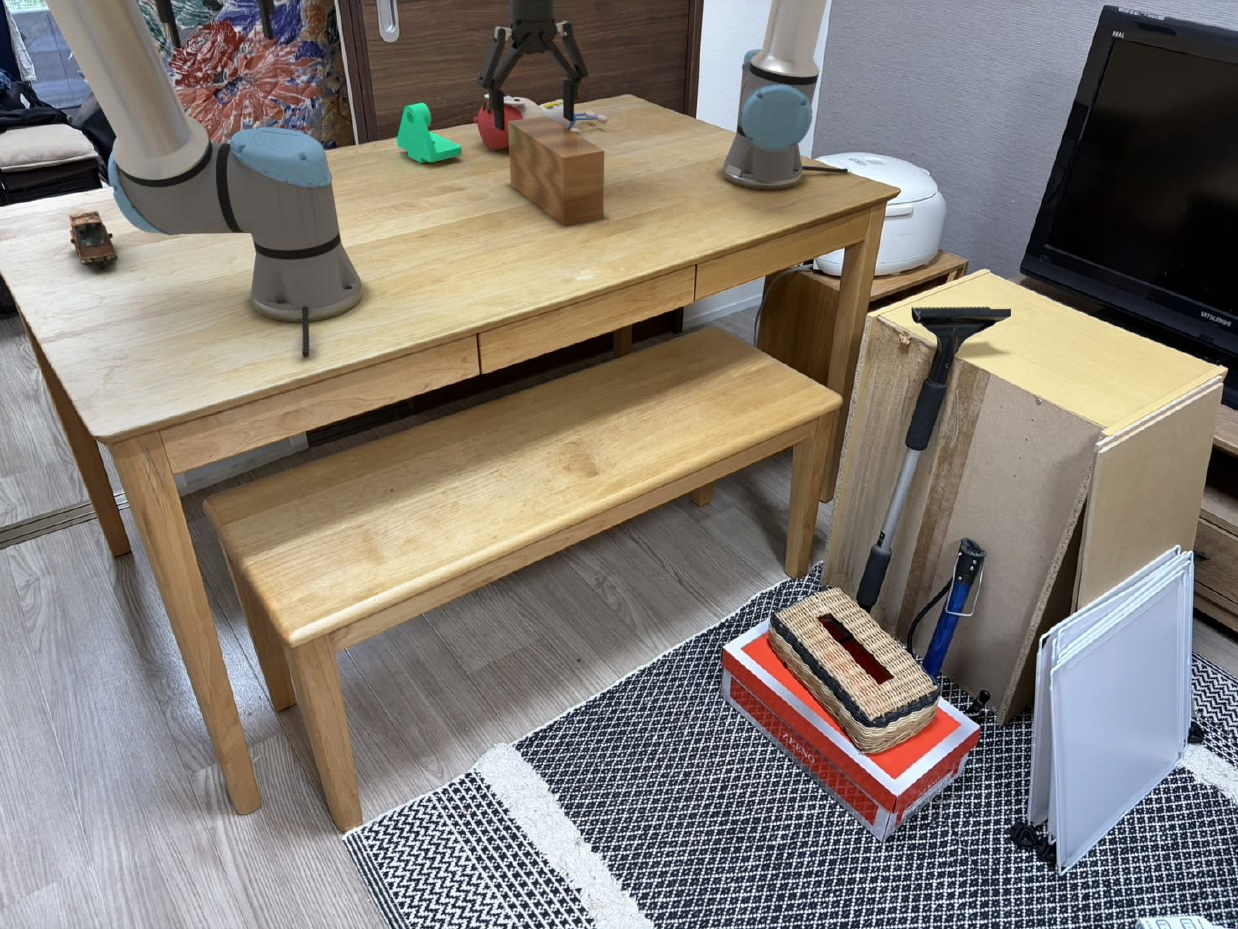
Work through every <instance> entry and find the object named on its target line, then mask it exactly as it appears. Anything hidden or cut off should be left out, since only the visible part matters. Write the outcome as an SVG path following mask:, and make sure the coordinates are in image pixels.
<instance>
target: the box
mask: <svg viewBox="0 0 1238 929" xmlns="http://www.w3.org/2000/svg"><path fill="white" fill-rule="evenodd" d="M508 133H509V147H508V151H509V175H510V176H509V177H510V186H511V187H512V188H514V189H515V190H516V191H517V192H519V193H520V194H521V195H522V196H524V197H525V198H526V199H528V200H529V201H531V202H532V204H534V205H536V206H537V207H539V208H540V209H541V210H542V211H544V212H545V213H546V214H547V215H549V216H550V217H551V218H553V219H554V220H555V221H557V222H558V223H559V224H560V225H562V226H563V227H565V226H571V225H575V224H576V225H577V224H581V223H586V222H590V221H596V220H601V219H604V192H605V190H604V189H605V185H604V184H605V150H604V149H602V148H601V147H599V146H597V145H595V144H594V143H593V142H591V141H589V140H587V139H586V138H584V137H583V136H580V135H579V134H578V133H574V132H572V131H571V130H569V129H567V128H566V127H564V126H562V125H561V124H559V123H557V122H556V121H554V120H552V119H551V118H549V117H547V116H542V117H535V118H528V119H521V120H514V121H508Z"/></svg>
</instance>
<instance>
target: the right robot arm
mask: <svg viewBox="0 0 1238 929" xmlns="http://www.w3.org/2000/svg"><path fill="white" fill-rule="evenodd" d="M556 2H557V1H556V0H509V6H510V7H509V9H510V26H509V27H501V26H499V25H497V24H496V25H494V26H493V28H492V40H491V43H490V46H489V49H488V51H487V53H486V56H485V59H484V61H483V65H482V67H481V70H480V72H479V75H478V78H477V81H476V84H477V85H478V86H480V87H481V88H483V89H484V90H488V94H489V106H490V108H491V109H492V110H494V121H495V127H496V128H498V129H499V130H501V131H503V130H505V115H504V94H505V91H503V90H502V89H501V87H502V86H503V85H504V83H505V82H506V80H507V79H508V77H509V75H510V73H511V72H512V71H513V69H514V68H515V66H516V65H517V63H518V61H519V60H520V59H522V58H523V56H524V55H525V54H526V55H527V56H530V55H534V54H536V53H537V54H545V52H547V53H548V55H549V56H550V57H551V58H552V60H553V61H554V62H555V64H556V65H557V66H558V67H559V68H560V70H561V71H562V73H563V74H564V75H565V76H566V78H567V79H563V82H562V85H563V86H562V89H563V90H562V94H563V95H562V100H563V117H564V118H565V119H567V120H568V121H574V113H575V101H578V98H579V84H581V82H582V80H583V78H584V79H585V78H587V77H588V76H589V71H588V68H587V66H586V64H585V61H584V59H583V57H582V53H581V52H580V49H579V47H578V45H577V42H576V39H575V37H574V30H573V28H574V27H573V24H572V23H571V22H569V21H567V20H565V19H562V20H560V21H559V22H557V23H556V10H557V9H556V5H557V4H556ZM826 4H827V0H771V4H770V9H769V14H768V15H769V16H768V18H767V24H766V30H765V34H764V39H763V44H762V48H759V49H750V50H748V51H747V52H745V54H744V58H743V63H742V65H741V70H742V71H741V72H742V73H741V74H742V75H741V82H740V92H739V103H738V112H737V123H736V131H735V132H736V133H735V137H734V139H733V141H732V144H731V146H730V148H729V151H728V153H727V155H726V158H725V160H724V162H723V170H722V175H723V178H725V180H727V181H728V182H729V183H731V184H733V185H736V186H739V187H742V188H746V189H752V190H759V191H778V190H786V189H790V188H794V187H796V186H797V185H799V184H800V183H801V182H802V180H803V179H802V178H803V172H804V171H808V172H809V171H811V172H822V173H823V172H824V173H835V174H845V173H848V171H849V169H848V168H847V167H845V168H834V167H825V166H824V167H823V166H810V165H803V163H802V158H801V152H800V146H799V144H800V143H801V142H802V141H803V140H804V139H805V137H806V136H807V134H808V132H809V130H810V128H811V124H812V121H813V108H812V104H813V101H814V96H815V92H816V87H817V83H818V79H819V75H820V68H819V66H818V65H817V63H816V62H815V59H814V57H815V56H814V55H815V53H816V47H817V43H818V40H819V35H820V30H821V25H822V22H823V16H824V13H825V9H826ZM557 34H558V35H559V36H560V37H561V41H562V42H563V45H564V48H565V50H566V51H567V54H568V57H569V59H570V61H571V63H572V66H573V67H572V66H571V64H570V63H569V61H568V59H567V58H566V57H565V56H564V55H563V53H562V52H561V51H560V48H559V47H558V46H557V45H556V43H555V42H554V38H555V37H556V35H557ZM509 37H510V38H511V40H512V42H511V43H510V45H509V46H508V48H507V52H506V53H505V54H504V56H503V58H502V60H501V61H500V59H501V57H502V54H503V51H504V48H505V46H506V43H507V42H508V40H509ZM499 62H500V63H499Z"/></svg>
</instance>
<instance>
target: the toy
mask: <svg viewBox="0 0 1238 929" xmlns="http://www.w3.org/2000/svg"><path fill="white" fill-rule="evenodd" d="M504 115H505V130H503V131H501V130H499V129H498V128H496V127H495V121H494V110H492V109H491V108H490V106H489V93H487V94H484V99H483V101H482V106H481V107H480V109H479V112H478V115H477V116H475V117H473V122H474V123H475V124H477V129H478V133H479V135H480V138H481V140H482V142H483V144H484V145H485V146H486V148H488V149H490V150H502V149H508V148H509V133H508V121H514V120H521V119H528V118H535V117H542V116H547V117H549V118H551V119H552V120H554V121H556V122H557V123H559V124H561V125H562V126H564V127H566V128H567V129H569V130H571V131H572V132H574V133H576V134H578V133H580V130H579V129H578V128H576V127H574V125H575V124H576V122H577V121H594V120H597V122H599V123H602V124H607V123H608V121H609V119H608V117H607V116H606V115H603V114H598V115H597V114H596V113H595V111H591V110H587V111H585V112H582V113H581V112H580V113H575V112H574V121H568V120H567V119H565V118H564V117H563V99H561V98H559V99H556V100H554V101H550V102H545V103H542V104H540V105H539V104H538V102H537V101H535V100H533V99H529V98H526V97H521V96H514V97H512V96H510V95H508V94H505V93H504ZM583 116H585V117H583Z"/></svg>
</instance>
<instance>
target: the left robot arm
mask: <svg viewBox="0 0 1238 929" xmlns="http://www.w3.org/2000/svg"><path fill="white" fill-rule="evenodd" d="M153 1H154V6H155V9H156V10H155V11H156V14H157V17H158V20H159V21H160V23H162V24H166V25H167V27H168V32H169V35H170V41H171V45H172V46H173V47H174V48H175V49H183V47H182V43H181V38H180V35H179V30H178V25H177V21H176V17H175V13H174V8H173V5H172V1H171V0H153ZM44 3H46V6H47V8H48V10H49V12H50V14H51V15H52V18H53V19H54V21H55V23H56V25H57V27H58V29H59V31H60V32H61V34H62V36H63V38H64V40H65V42H66V44H67V46H68V48H69V50H70V51H71V53H72V55H73V57H74V59H75V61H76V62H77V64H78V66H79V68H80V71H81V72H82V74H83V76H84V78H85V80H86V82H87V83H88V86H89V87H90V89H91V91H92V94H93V95H94V97H95V99H96V101H97V102H98V104H99V106H100V108H101V110H102V111H103V114H104V116H105V118H106V120H107V121H108V123H109V125H110V127H111V128H112V131H113V133H114V134H115V136H116V137H115V139H114V141H113V145H112V150H111V153H110V155H109V158H108V164H107V173H108V174H107V175H108V182H109V185H110V186H111V187H112V188H113V189H112V190H113V192H112V196H113V199H114V202H115V203H116V205H117V207H118V209H119V211H120V212H121V213H122V215H123V216H124V217H125V219H126V220H127V221H128V222H129V223H130V224H131V225H132V226H133V227H135V228H136V229H138V230H140V231H142V232H144V233H148V234H162V235H166V236H175V235H177V236H179V235H205V234H206V235H208V234H209V235H211V234H212V235H214V234H250V235H251V239H252V242H253V247H254V251H255V258H254V264H253V273H252V283H251V289H250V294H251V299H252V303H253V307H254V309H255V310H256V311H257V313H259V314H260V315H262V316H264V317H266V318H268V319H271V320H275V321H281V322H289V323H301V325H302V354H301V355H302V357H303V358H308V357H309V356H310V326H309V323H310V322H314V321H315V322H316V321H320V320H326V319H330V318H332V317H336V316H338V315H341V314H343V313H345V312H348V311H349V310H351V309H353V308H354V307H355V306H356V305H357V304H358V303H359V302H360V301H361V298H362V297H363V287H362V282H361V278H360V276H359V274H358V272H357V270H356V268H355V266H354V264H353V263H352V261H351V259H350V257H349V255H348V253H347V251H346V250H345V248H344V245H343V243H342V239H341V233H340V225H339V220H338V213H337V207H336V200H335V196H334V195H335V194H334V190H333V189H334V188H333V175H332V172H331V171H330V166H329V162H328V158H327V153H326V150H325V149H324V147H323V145H322V144H321V143H320V142H319V141H318V140H317V139H315V138H314V137H312V136H310V135H309V134H306V133H303V132H301V131H297V130H294V129H288V128H281V127H272V126H271V127H270V126H269V127H268V126H261V127H257V128H246V129H242V130H239V131H237V132H236V133H234V134H233V135H232V137H231V139H230V143H225V142H212V141H211V139H210V136H209V134H208V131H207V130H206V128H205V127H204V125H203V124H202V123H201V122H200V121H199V120H197V119H195V118H194V117H191V116H189V115H187V114H186V112H185V109H184V107H183V105H182V102H181V100H180V97H179V95H178V93H177V91H176V88H175V86H174V84H173V82H172V79H171V77H170V75H169V72H168V70H167V68H166V65H165V63H164V61H163V59H162V56H161V54H160V52H159V50H158V47H157V44H156V43H155V40H154V37H153V35H152V33H151V31H150V29H149V26H148V24H147V21H146V19H145V17H144V15H143V12H142V10H141V8H140V6H139V4H138V1H137V0H44ZM257 5H258V10H259V16H260V21H261V27H262V33H263V37H264V38H265V39H267V40H268V41H272V40H273V41H275V38H274V37H275V36H274V32H273V26H272V21H271V16H273V15H276V6H275V1H274V0H257Z"/></svg>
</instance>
